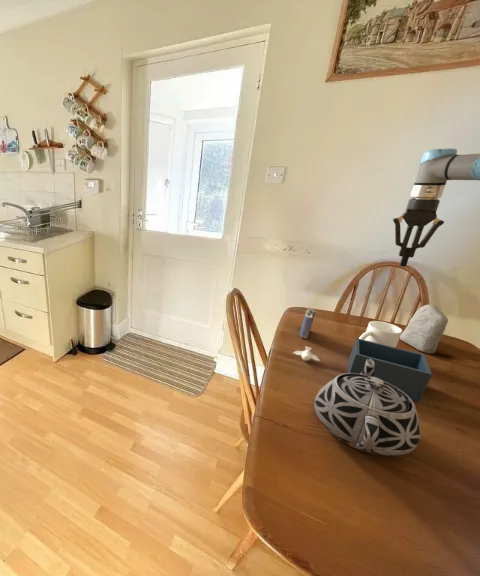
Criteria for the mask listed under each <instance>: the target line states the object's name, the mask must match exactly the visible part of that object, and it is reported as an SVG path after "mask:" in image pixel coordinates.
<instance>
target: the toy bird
mask: <svg viewBox="0 0 480 576" xmlns="http://www.w3.org/2000/svg"><path fill="white" fill-rule="evenodd" d="M304 347H305V350H295V351H293V352H292V354H294V355H297V356H300V357H301V359H302V361H305V362H307V361H310V360H314V361H316V362H321V360H320V358H319V357H318V356H317V355H315V354H314V353H312V352H311V351H312V349H313V347H310V346H307V345H305V346H304Z"/></svg>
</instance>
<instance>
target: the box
mask: <svg viewBox="0 0 480 576" xmlns="http://www.w3.org/2000/svg"><path fill="white" fill-rule="evenodd" d="M367 359H372V360H373V361H374V363H375V366H374V377H376V378H379V379H381V380H383V381H385V382H387V383H389V384H391V385H393V386H395V387H397V388H399V389H400V390H402V391H403V392H404V393H406V394H407V395H408V396H409V397H410V398H411V400H412V401H413V402H414V401H415V402H417V403H420V402H421V399H422V397H423V395H424V393H425V391H426V389H427V386H428V385H429V382H430V379H431V377H432V375H433V373H432V371H431V368H430V365H429V362H428V360H427V357H426V354H424V353H420V352H416V351H413V350H407V349H403V348H399V347H396V348H395V347H391V346H387V345H383V344H379V343H375V342H370V341H366V340H362V339H359V337H358V338H357V337H356V338H355V340H354V343H353V345H352V348H351V352H350V355H349V358H348V360H347V373H356V374H361V372H362V371H363V369H364V367H365V364H366V360H367Z"/></svg>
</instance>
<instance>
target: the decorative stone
mask: <svg viewBox="0 0 480 576" xmlns="http://www.w3.org/2000/svg"><path fill="white" fill-rule="evenodd" d="M448 322H449V318H448V317H447V315H445V313H443V312H442V311H441V310H440V309H439V307H437V306H436V305H434V304H432V303H431V304H425V305H423V306H421V307H420V308H419V309H417V311H416V312H415V313H414V314H413V316H412V317H411V318H410V320H409V322H408V324H407V326H406V327H405V328H404V329H403V331H402V333H401V336H400V338H399V340H401V341H402V342H403V343H405V344H408V346H410V347H413V348H414V349H416V350H418V351H419V352H422V353H425V354H435V353H436V351H437V348H438V345H439V341H440V340H441V337H442V336H443V334H444V332H445V330H446V328H447V324H448Z"/></svg>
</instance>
